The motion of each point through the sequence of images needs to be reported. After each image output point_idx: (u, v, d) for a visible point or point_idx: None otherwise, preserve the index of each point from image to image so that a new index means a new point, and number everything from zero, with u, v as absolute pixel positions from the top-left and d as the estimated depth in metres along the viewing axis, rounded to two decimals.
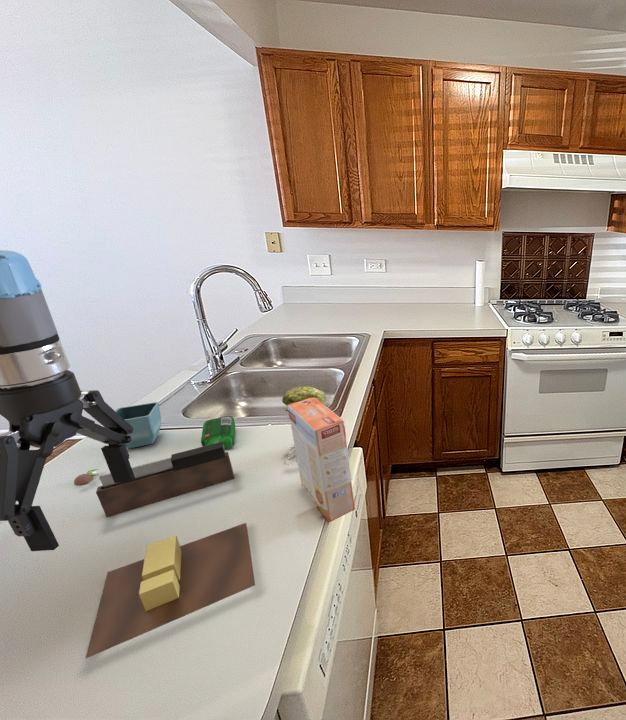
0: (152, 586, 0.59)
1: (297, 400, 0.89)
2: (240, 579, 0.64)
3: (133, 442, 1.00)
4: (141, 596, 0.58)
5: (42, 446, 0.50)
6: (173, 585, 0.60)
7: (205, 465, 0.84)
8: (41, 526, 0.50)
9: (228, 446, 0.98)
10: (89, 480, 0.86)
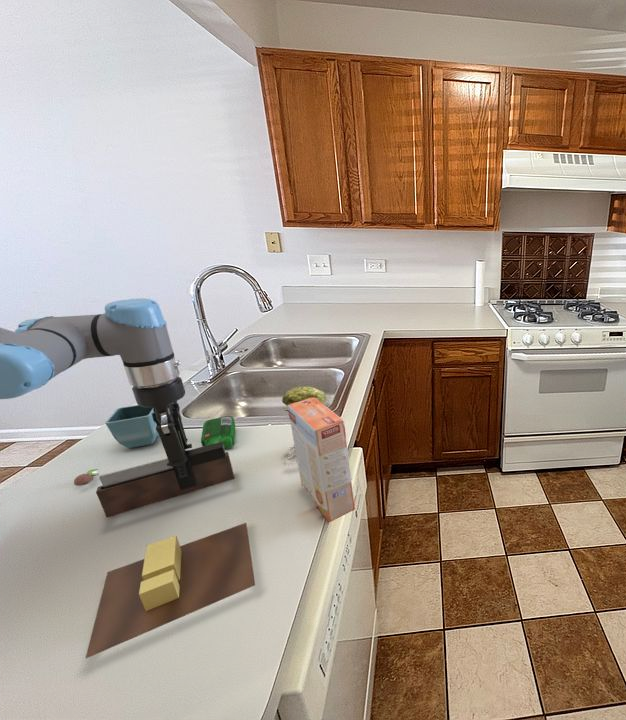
0: (152, 586, 0.59)
1: (297, 400, 0.89)
2: (240, 579, 0.64)
3: (133, 442, 1.00)
4: (141, 596, 0.58)
5: (178, 424, 0.77)
6: (173, 585, 0.60)
7: (205, 465, 0.84)
8: (191, 470, 0.81)
9: (228, 446, 0.98)
10: (89, 480, 0.86)
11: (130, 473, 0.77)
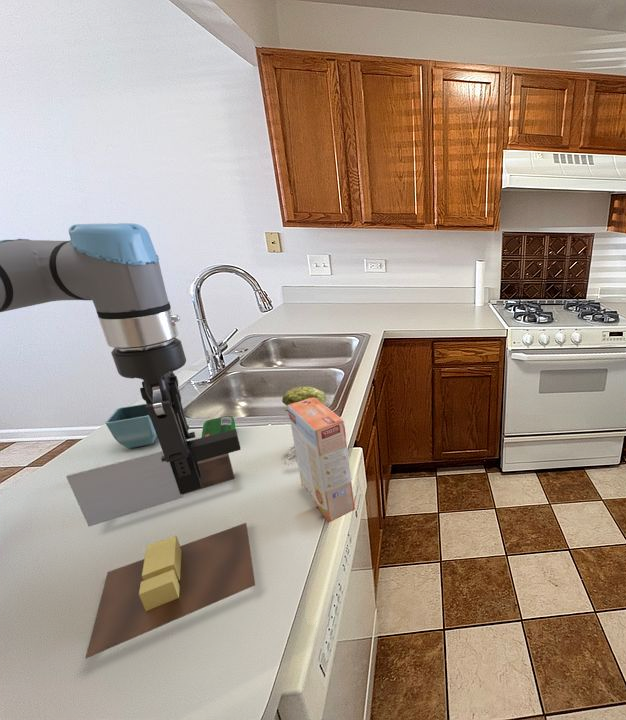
0: (152, 586, 0.59)
1: (297, 400, 0.89)
2: (240, 579, 0.64)
3: (133, 442, 1.00)
4: (141, 596, 0.58)
5: (176, 404, 0.56)
6: (173, 585, 0.60)
7: (205, 465, 0.84)
8: (194, 467, 0.60)
9: None
10: None
11: (111, 471, 0.56)
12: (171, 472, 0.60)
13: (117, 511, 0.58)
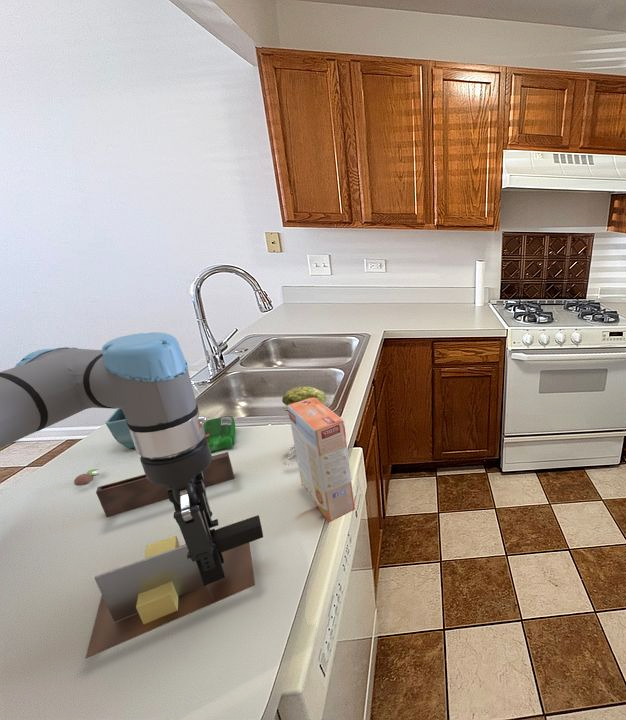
0: (150, 598, 0.57)
1: (297, 400, 0.89)
2: (240, 579, 0.64)
3: None
4: (138, 609, 0.56)
5: (202, 503, 0.56)
6: (171, 598, 0.58)
7: None
8: (218, 559, 0.60)
9: (228, 446, 0.98)
10: (89, 480, 0.86)
11: (137, 569, 0.56)
12: (195, 564, 0.60)
13: None
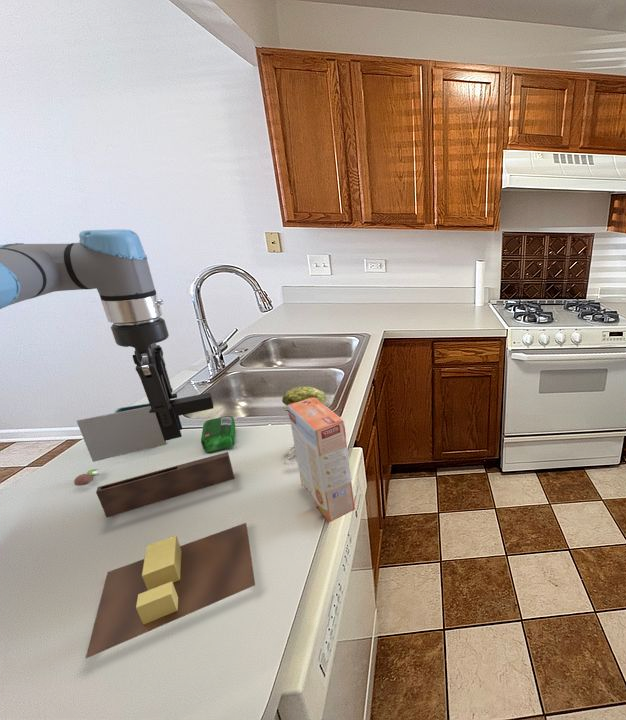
0: (149, 599, 0.57)
1: (297, 400, 0.89)
2: (240, 579, 0.64)
3: None
4: (138, 609, 0.56)
5: (160, 368, 0.73)
6: (171, 598, 0.58)
7: (205, 465, 0.84)
8: (175, 419, 0.77)
9: (228, 446, 0.98)
10: (89, 480, 0.86)
11: (110, 419, 0.73)
12: (158, 423, 0.77)
13: (115, 451, 0.74)
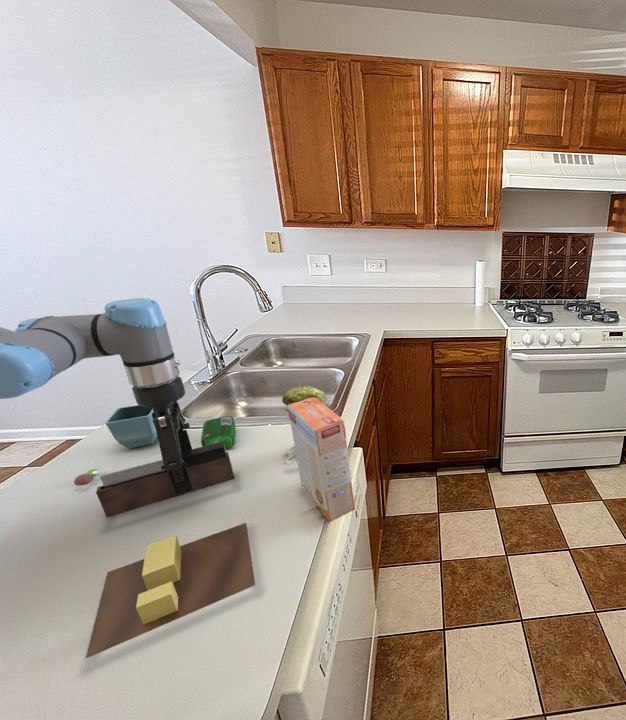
0: (149, 599, 0.57)
1: (297, 400, 0.89)
2: (240, 579, 0.64)
3: (133, 442, 1.00)
4: (138, 609, 0.56)
5: (176, 423, 0.76)
6: (171, 598, 0.58)
7: (205, 465, 0.84)
8: (187, 474, 0.76)
9: (228, 446, 0.98)
10: (89, 480, 0.86)
11: (131, 473, 0.77)
12: None
13: None
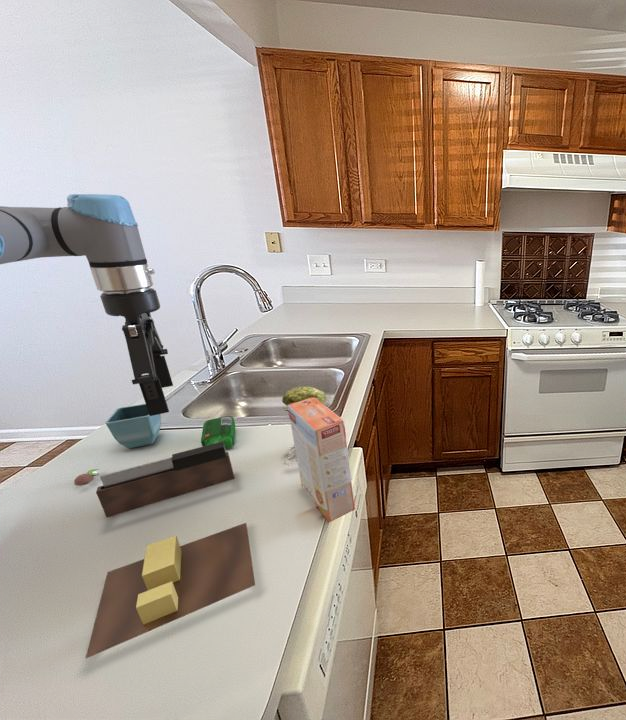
0: (149, 599, 0.57)
1: (297, 400, 0.89)
2: (240, 579, 0.64)
3: (133, 442, 1.00)
4: (138, 609, 0.56)
5: (149, 337, 0.70)
6: (171, 598, 0.58)
7: (205, 465, 0.84)
8: (162, 393, 0.70)
9: (228, 446, 0.98)
10: (89, 480, 0.86)
11: (131, 473, 0.77)
12: None
13: None
